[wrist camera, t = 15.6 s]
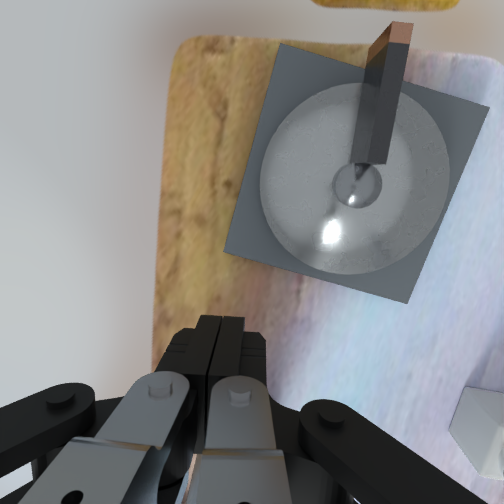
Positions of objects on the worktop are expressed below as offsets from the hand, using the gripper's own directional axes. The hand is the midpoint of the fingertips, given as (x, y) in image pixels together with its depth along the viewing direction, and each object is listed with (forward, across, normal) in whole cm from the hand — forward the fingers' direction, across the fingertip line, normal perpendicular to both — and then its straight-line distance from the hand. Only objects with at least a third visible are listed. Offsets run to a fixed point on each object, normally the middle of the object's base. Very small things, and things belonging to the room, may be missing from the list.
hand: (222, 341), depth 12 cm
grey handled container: (+29, -32, +24) cm, 49 cm away
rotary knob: (+26, -10, -6) cm, 29 cm away
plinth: (+29, -10, -5) cm, 31 cm away
